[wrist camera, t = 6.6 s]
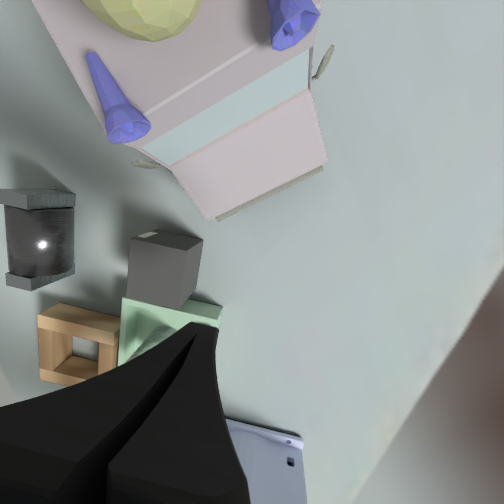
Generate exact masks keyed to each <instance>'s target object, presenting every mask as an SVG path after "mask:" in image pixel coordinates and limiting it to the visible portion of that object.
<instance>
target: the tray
mask: <svg viewBox="0 0 504 504" xmlns="http://www.w3.org/2000/svg"><path fill="white" fill-rule="evenodd" d="M222 310H223V307H220V306H216V305H212V304H207V303H203V302H199V301H194V300H190V299H187V300H186V301H185V302H184V304H183V305H182V306H181V307H180V308H179V310H178V309H174V308H169V307H165V306H161V305H157V304H153V303H148V302H144V301H140V300H136V299H132V298H127V297H126V295H125V296H124V297H122V308H121V324H120V339H119V354H118V366H120V365H122V364H124V363H125V362H126V361H127V360H128V359H129V357H130V356H131V355H132V354H133V353H134V352H135V351H136V349H137V348H138V347H139V346H140V345H141V344H142V343H143V341H144V340H145V339H146V338H147V337H148V336H149V335H150V333H151V332H152V331H153V330H154V329H155V328H157V327H160V326H169V327H172V328H174V329H176V330H177V331H178V330H179V329H181V328H182V327H183V326H185V325H186V324H188V323H189V322H191V321H192V322H196V323H201V324H205V325H209V326H213V327H217V328H218V329H219V326H220V321H221V315H222Z"/></svg>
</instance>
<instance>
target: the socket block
mask: <svg viewBox="0 0 504 504" xmlns="http://www.w3.org/2000/svg"><path fill="white" fill-rule="evenodd" d="M37 321H38V346H39V371H40V380H44V381H48V382H52V383H56V384H60V385H64V386H68V387H69V386H72V385H75V384H77V383H80V382H83V381H85V380H87V379H90V378H92V377H95V376H97V375H100V374H102V373H104V372H107V371H109V370H111V369H114V368H116V367H118V354H119V339H120V324H121V317H117V316H112V315H108V314H104V313H100V312H96V311H92V310H87V309H83V308H79V307H75V306H71V305H67V304H62V303H58V304H56V305H54V306H52V307H50V308H49V309H47V310H45V311H43V312H41V313H39V314H37ZM72 336H76V337H80V338H84V339H88V340H92V341H96V342H99V362H96V361H92V360H88V359H84V358H80V357H76V356H72Z"/></svg>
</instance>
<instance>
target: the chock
mask: <svg viewBox="0 0 504 504" xmlns="http://www.w3.org/2000/svg"><path fill="white" fill-rule="evenodd" d="M202 246H203V240H202V239H197V238H193V237H188V236H184V235H179V234H175V233H171V232H166V231H162V230H155V231H152V232H148V233H144V234H141V235H138V236H136V237H133V238H130V249H129V263H128V276H127V290H126V297H127V298H132V299H136V300H140V301H144V302H148V303H153V304H157V305H161V306H165V307H169V308H174V309H178V310H179V308H180V307H181V306H182V305H183V304H184V302H185V301H186V300H187V299H188V298H189V296H190V295H191V294H192V293H193V291H194V290H195V289H196V285H197V278H198V272H199V265H200V259H201V253H202Z"/></svg>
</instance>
